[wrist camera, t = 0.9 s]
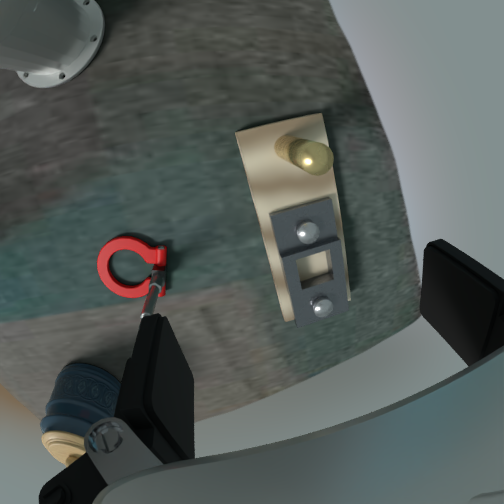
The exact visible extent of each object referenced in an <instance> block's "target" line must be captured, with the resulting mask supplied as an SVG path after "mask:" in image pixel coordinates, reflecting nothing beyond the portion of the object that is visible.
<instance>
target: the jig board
mask: <svg viewBox="0 0 504 504" xmlns="http://www.w3.org/2000/svg"><path fill="white" fill-rule="evenodd" d="M235 135H236V138H237V142H238V146H239V149H240V153H241V157H242V160H243V164H244V168H245V172H246V175H247V179H248V183H249V187H250V190H251V194H252V198H253V202H254V205H255V209H256V213H257V217H258V221H259V224H260V228H261V232H262V236H263V240H264V244H265V247H266V251H267V255H268V259H269V263H270V267H271V271H272V275H273V279H274V283H275V286H276V290H277V294H278V298H279V302H280V306H281V310H282V314H283V317H284V320H285V322H287V321H290V320H293V319H294V315H293V310H292V306H291V302H290V297H289V294H288V292H287V289H286V284H285V280H284V276H283V271H282V267H281V263H280V259H279V255H278V250H277V246H276V242H275V238H274V234H273V230H272V226H271V222H270V218H269V213H272V212H276V211H279V210H283V209H286V208H290V207H293V206H297V205H301V204H304V203H308V202H311V201H315V200H319V199H322V198H326V197H330V198H331V199H332V203H333V210H334V216H335V222H336V229H337V236H338V238H339V239H341V245H342V253H343V261H344V269H345V278H346V287H347V297H348V301H349V300H351V298H350V287H349V277H348V268H347V259H346V251H345V243H344V235H343V228H342V221H341V214H340V207H339V201H338V194H337V188H336V182H335V177H334V171H333V166H332V167H331V169H330V170H329V171H328V172H327V173H325V174H323V175H320V176H315V175H311V174H309V173H308V172H306V171H304V170H302V169H300V168H298V167H296V166H295V165H293V164H291V163H289V162H287V161H285V160H283V159H281V158H280V157H278V156H277V154H276V153H275V150H274V145H275V142H276V140H277V139H278V138H279V137H281V136H284V135H289V136H294V137H298V138H303V139H307V140H311V141H316V142H320V143H323V144H325V145H327V146H328V147H329V145H328V140H327V135H326V130H325V125H324V121H323V116H322V113H316V114H311V115H306V116H301V117H296V118H292V119H287V120H283V121H278V122H274V123H270V124H265V125H261V126H257V127H253V128H249V129H245V130H241V131H238V132H235ZM296 264H297V269H298V273H299V278H300V281H303V280H306V279H309V278H312V277H315V276H319V275H322V274H325V273H328V266H327V259H326V253H325V251H323V252H320V253H316V254H313V255H310V256H307V257H304V258H300V259H297V260H296Z"/></svg>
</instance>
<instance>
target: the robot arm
mask: <svg viewBox="0 0 504 504" xmlns="http://www.w3.org/2000/svg"><path fill="white" fill-rule="evenodd" d="M88 3H89V4H88ZM87 4H88V5H87ZM104 30H105V19H104V15H103V12H102V9H101V8H100V6H99V5H98V3H97V2H96V1H95V0H0V68H2V69H9V70H15V71H16V72H17V74H18V76H19V77H20V78H21V79H22V80H23V81H24V82H25V83H27V84H28V85H30V86H34V87H38V88H52V87H56V86H60V85H62V84H64V83H66V82H68V81H70V80H71V79H73V78H74V77H76V76H77V75H78V74H80V73H81V72H82V71H83V70H84V69H85V68H86V67H87V66H88V64H89V63H90V62H91V61H92V59H93V58H94V56H95V55H96V53H97V52H98V49H99V47H100V45H101V43H102V39H103V36H104ZM96 38H97V40H96V41H95V42H94V40H95V39H96ZM64 75H65V78H64ZM420 312H421V314H422V316H423V317H424V318H425V319H426V320H427V321H428V322H429V323H430V324H431V326H432V327H433V328H434V329H435V330H436V331H437V332H438V333H439V334H440V335H441V336H442V337H443V338H444V339H445V340H446V342H447V343H448V344H449V345H450V346H451V347H452V348H453V349H454V350H455V352H456V353H457V354H458V355H459V356H460V357H461V358H462V359H463V360H464V362H465V363H466V364H467V365H468V366H469V367H467V368H465V369H464V370H462V371H460V372H458V373H456V374H455V375H453V376H451V377H449V378H447V379H445V380H443V381H441V382H439V383H437V384H435V385H433V386H431V387H429V388H427V389H425V390H423V391H421V392H418V393H416V394H414V395H412V396H410V397H407V398H405V399H403V400H401V401H398V402H396V403H394V404H392V405H389V406H387V407H384V408H381V409H379V410H376V411H374V412H371V413H369V414H366V415H363V416H361V417H358V418H355V419H353V420H350V421H347V422H344V423H341V424H338V425H335V426H332V427H329V428H326V429H322V430H319V431H316V432H312V433H309V434H306V435H302V436H299V437H295V438H291V439H287V440H284V441H279V442H275V443H271V444H266V445H262V446H258V447H253V448H249V449H244V450H240V451H234V452H229V453H223V454H218V455H212V456H206V457H200V458H195V452H194V451H195V449H194V379H193V375H192V372H191V370H190V368H189V366H188V363H187V361H186V359H185V357H184V355H183V353H182V350H181V348H180V346H179V344H178V342H177V339H176V337H175V335H174V332H173V330H172V328H171V326H170V323H169V321H168V319H167V317H166V316H164V317H161V315H160V314H159V313H157V314H153V315H148V316H144V317H142V320H141V323H140V327H139V331H138V334H137V338H136V342H135V346H134V350H133V354H132V358H129V359H128V360H127V363H126V367H125V370H124V374H123V378H122V383H121V387H120V391H119V395H118V399H117V404H116V408H115V413H114V417H108V418H104V419H101V420H99V421H97V422H95V423H94V424H93V425H92V426H91V427H90V428H89V429H88V431H87V432H86V434H85V437H84V447H85V450H86V453H84V454H83V455H82V456H81V457H79V458H78V459H77V460H75V461H74V462H73V463H72V464H70V465H69V466H68V467H66V468H65V469H64V470H63V471H61V472H60V473H59V474H57V475H56V476H55V477H53V478H52V479H51V480H49V481H48V482H47V483H46V484H45V485H44V486H43V487H42V489H41V491H40V494H39V504H504V279H502V278H501V277H499V276H498V275H496V274H495V273H493V272H492V271H491V270H489V269H488V268H486V267H485V266H483V265H482V264H480V263H479V262H477V261H476V260H474V259H473V258H471V257H470V256H468V255H467V254H465V253H464V252H462V251H460V250H459V249H457V248H456V247H454V246H453V245H451V244H450V243H448V242H446V241H445V240H443V239H438V240H435V241H432V242H429V243H428V244H427V246H426V248H425V249H424V259H423V275H422V288H421V299H420Z"/></svg>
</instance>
